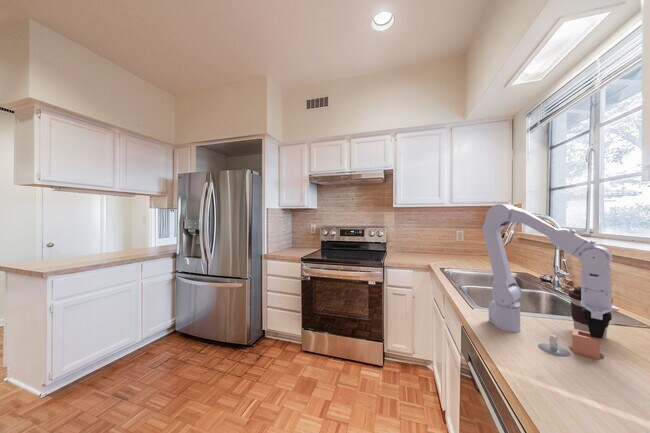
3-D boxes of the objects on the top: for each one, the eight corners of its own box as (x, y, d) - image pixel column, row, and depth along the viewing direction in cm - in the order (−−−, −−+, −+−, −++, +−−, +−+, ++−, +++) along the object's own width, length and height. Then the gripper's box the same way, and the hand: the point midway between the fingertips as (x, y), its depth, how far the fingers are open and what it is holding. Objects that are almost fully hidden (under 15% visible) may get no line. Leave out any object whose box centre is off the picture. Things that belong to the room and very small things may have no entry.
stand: (531, 346, 75) (531, 330, 75) (554, 345, 75) (553, 330, 75) (553, 359, 68) (553, 342, 68) (577, 359, 68) (577, 342, 68)
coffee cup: (598, 344, 75) (597, 295, 75) (561, 329, 85) (560, 286, 85) (621, 340, 78) (620, 293, 77) (582, 326, 87) (582, 284, 87)
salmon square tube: (572, 351, 70) (572, 334, 70) (573, 344, 74) (573, 328, 74) (599, 359, 66) (599, 341, 66) (599, 351, 70) (599, 334, 70)
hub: (562, 348, 74) (561, 332, 74) (584, 347, 74) (584, 331, 74) (587, 362, 67) (587, 344, 67) (612, 361, 67) (612, 344, 67)
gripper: (620, 298, 61) (621, 352, 61) (615, 286, 71) (616, 332, 71) (579, 292, 66) (580, 342, 66) (580, 281, 76) (581, 325, 76)
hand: (596, 336), depth 69 cm, fingers closed
